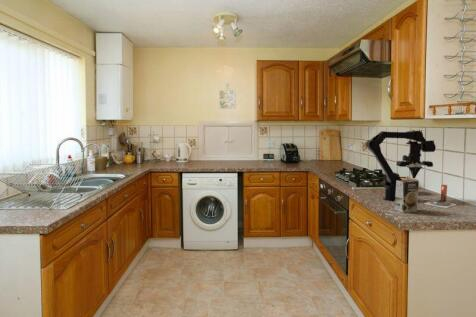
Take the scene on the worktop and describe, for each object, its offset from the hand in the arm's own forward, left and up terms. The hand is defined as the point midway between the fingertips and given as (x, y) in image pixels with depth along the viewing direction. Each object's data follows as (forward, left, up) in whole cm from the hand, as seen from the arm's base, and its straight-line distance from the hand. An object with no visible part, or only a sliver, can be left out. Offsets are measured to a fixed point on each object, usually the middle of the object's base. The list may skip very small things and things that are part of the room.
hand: (413, 178), depth 204 cm
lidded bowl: (+16, +12, -13) cm, 24 cm away
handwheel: (+2, -15, -13) cm, 20 cm away
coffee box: (-28, -11, -13) cm, 33 cm away
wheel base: (+2, -15, -13) cm, 20 cm away
